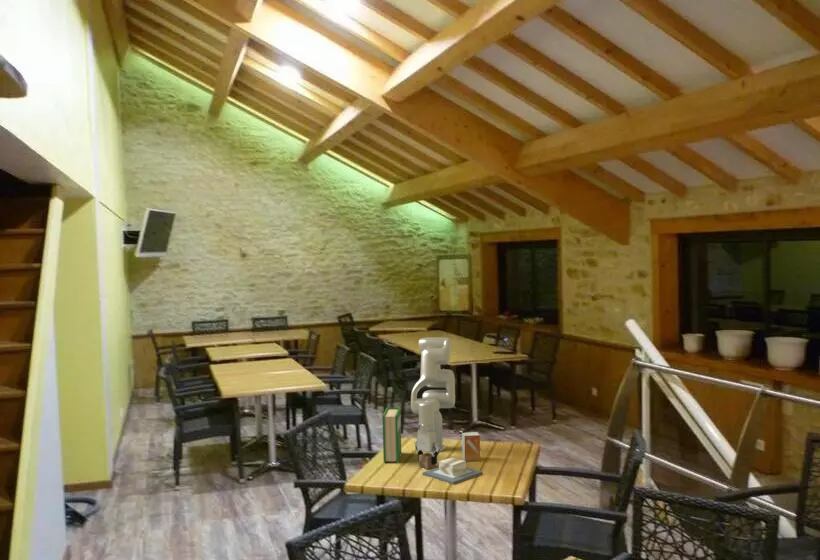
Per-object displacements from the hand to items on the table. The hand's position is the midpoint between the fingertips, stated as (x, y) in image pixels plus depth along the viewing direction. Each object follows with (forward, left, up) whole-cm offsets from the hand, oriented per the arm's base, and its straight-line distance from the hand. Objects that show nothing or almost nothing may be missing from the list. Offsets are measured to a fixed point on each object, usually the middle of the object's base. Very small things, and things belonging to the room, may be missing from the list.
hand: (427, 462), depth 341 cm
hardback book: (-24, -1, -3) cm, 25 cm away
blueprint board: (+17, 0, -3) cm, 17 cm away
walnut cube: (0, 0, -3) cm, 3 cm away
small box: (+7, +24, -3) cm, 25 cm away
